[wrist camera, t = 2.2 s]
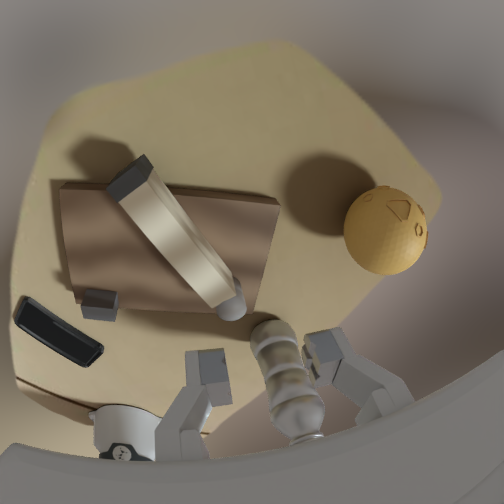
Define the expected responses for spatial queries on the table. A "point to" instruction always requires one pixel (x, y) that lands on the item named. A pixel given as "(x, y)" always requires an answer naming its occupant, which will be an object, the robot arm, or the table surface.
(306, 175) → the table surface
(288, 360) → the plastic bottle
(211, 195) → the seat board
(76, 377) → the table surface
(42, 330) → the phone
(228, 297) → the stool leg
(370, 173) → the table surface
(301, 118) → the table surface
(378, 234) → the stress ball
